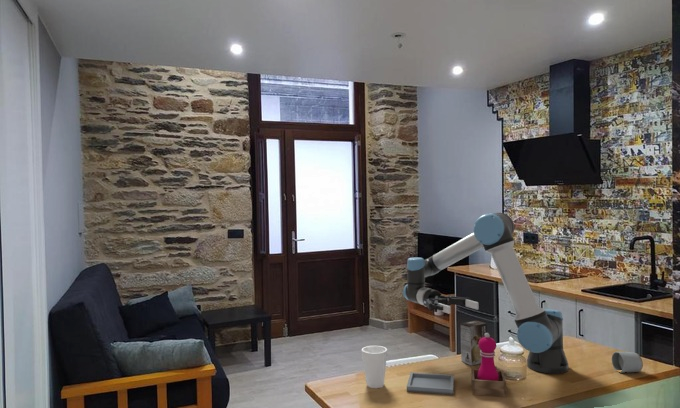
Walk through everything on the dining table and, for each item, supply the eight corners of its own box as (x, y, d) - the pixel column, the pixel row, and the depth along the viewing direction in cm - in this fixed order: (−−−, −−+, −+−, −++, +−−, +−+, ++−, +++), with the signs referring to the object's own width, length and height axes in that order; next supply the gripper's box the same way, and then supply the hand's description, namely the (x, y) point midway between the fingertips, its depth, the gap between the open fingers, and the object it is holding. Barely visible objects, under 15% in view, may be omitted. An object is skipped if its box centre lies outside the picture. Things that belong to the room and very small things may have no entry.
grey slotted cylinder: (645, 374, 176) (644, 354, 176) (624, 375, 175) (623, 355, 175) (625, 365, 186) (625, 346, 186) (606, 366, 186) (605, 346, 186)
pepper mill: (473, 387, 168) (472, 331, 168) (490, 384, 170) (488, 329, 170) (486, 395, 161) (485, 336, 161) (503, 391, 163) (502, 334, 163)
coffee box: (477, 357, 199) (476, 319, 199) (488, 362, 194) (487, 323, 194) (460, 361, 195) (459, 322, 195) (471, 366, 189) (470, 326, 189)
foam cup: (378, 391, 166) (377, 355, 166) (357, 386, 172) (356, 350, 172) (392, 383, 173) (391, 348, 173) (371, 378, 179) (370, 344, 179)
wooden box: (503, 384, 170) (503, 370, 170) (506, 397, 159) (506, 382, 159) (471, 382, 172) (471, 368, 172) (472, 394, 162) (472, 380, 162)
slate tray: (453, 379, 175) (453, 374, 175) (453, 394, 162) (453, 389, 162) (410, 376, 179) (410, 372, 179) (406, 391, 166) (406, 386, 166)
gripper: (453, 303, 202) (489, 314, 183) (404, 310, 191) (437, 322, 172) (453, 286, 202) (488, 294, 183) (404, 291, 191) (437, 301, 172)
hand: (464, 308), depth 177 cm, fingers open, 13 cm apart
